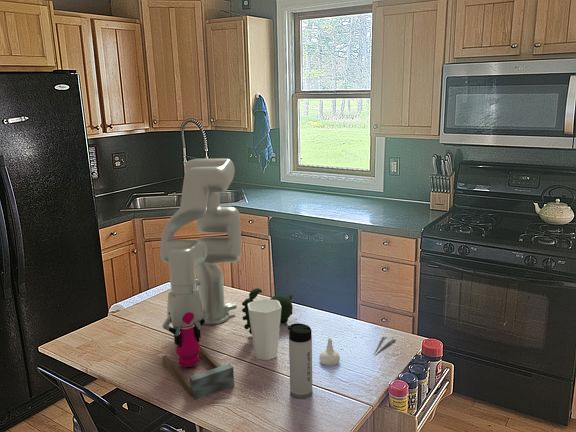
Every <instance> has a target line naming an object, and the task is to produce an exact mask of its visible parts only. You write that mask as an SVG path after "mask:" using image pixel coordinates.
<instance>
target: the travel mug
mask: <svg viewBox="0 0 576 432" xmlns="http://www.w3.org/2000/svg"><path fill="white" fill-rule="evenodd" d="M286 329H287V331H288V353H289V354H288V359H289V360H288V361H289V362H288V363H289V390H290V391H289V392H290V395H291V396H293V398H294V397H295V398H297V399H305V398H309V397H310V396H311V395H312V394H313V339H312V338H313V336H312V328H311V326H309V325H307V324H305V323H300V322H299V323H298V322H297V323H291V324H290V325H287V327H286Z"/></svg>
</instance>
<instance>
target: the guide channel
mask: <svg viewBox="0 0 576 432" xmlns="http://www.w3.org/2000/svg"><path fill="white" fill-rule="evenodd" d="M199 346H200V351H199V353H198V355H199V358H200V359H201V360H202V361H204V363H206V364H207V366H208V367H210V369H209V370H205V371H203V372H200V373H197V374H194V375H191V376H189V377H188V378H187V377H186V376H185V375H184V374H183V372H182V371H181V370H180V369H179V367H177V366H176V364H175V363H174V362H173V361H172V359H170V357H168V355H162V363H163V366H165V368H166V369H167V370H168V371H169V373H170V374H171V375H172V376H173V377H174V378H175V379H176V381H177V382H178V383H179V384H180V385H181V387H182V388H183V389H184V390H185V392H186V393H187V394H188V395H189V397H191V398H192V400H193V401H196V400H199V399H202V398H205V397H208V396H210V395H213V394H215V393H218V392H222V391H225V390H227V389H230V388H233V387H235V376H234V375H235V374H234V373H235V372H234V370H235V369H234V366H233V365H232V364H231V363H227V364H224V365H221V364H220V363H219V362H218V361H217V360H215V359H214V358H213V357H212V356H211V355H210V354H209V353H208V351H206V350H205V349H204V348H203V347H202V346H201V345H200V344H199Z"/></svg>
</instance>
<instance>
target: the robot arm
mask: <svg viewBox="0 0 576 432" xmlns="http://www.w3.org/2000/svg"><path fill="white" fill-rule="evenodd" d="M184 165H185V166H184V169H185V173H184V177H183V184H182V191H181V199H180V206H179V209H178V210H177V211H176V212H175V213H174V214H172V215H171V217H169V219H168V220H167V222H166V223H165V225H164V227H163V229H162V233H161V237H160V238H161V239H160V247H159V255H160V259H161V261H162V262H163V263H165V264H168V268H169V279H170V281H169V282H170V291H169V292H168V296H167V305H166V306H167V308H166V311H167V312H166V313H167V314H166V316H167V317H166V319H165V320H164V322H163V323H162V324H161V327H162V328H163V330H166V331H167V332H169V333H171V334H173V339H174V340H173V341H174V344H175V346H177V345H178V346H179V348H180V347H181V345H182V342H181V335H180V328H181V326H182V325H186V324H187V323H185V322H183V321H182V318H183V316H184V315H185V314H186V313H188V312H191V313H193V314H194V319H193V320H192V321H191V322H190V323H194V326H193V332H194V335H195V337H196V339H197V342H198V343H199V342H200V341H201V340H200V338H201V330H202V327H203V325H206V326H207V325H208V326H211V325H213V326H214V325H219V324H222V323H224V322H226V321H228V320H229V318H230V313H229V312H230V311H232V310H236V309H238V306H237V304H236V303H233V304H232V303H230V302H229V303H226V304H225V291H224V290H225V288H224V286H225V285H224V273H223V271H222V268H221V267H220V265H219V264H223V263H224V264H226V263H227V264H233V263H237V262H239V261H240V260H241V257H242V228H241V227H242V225H241V224H242V223H241V214H240V211H239V210H238V208H236V207H234V206H221V204H220V202H221V201H220V198H221V197H220V193H223V192H226V191H228V189H229V187H230V185H231V183H232V182H233V179H234V178H235V170H236V169H235V164H234V162H233V161H232V160H231V159H230V158H194V159H190V160H188V161H187V162H185V164H184ZM194 221H196V228H197V230H198V231H199V232H201V233H206V234H207V233H208V234H227V236H201V237H198V238H196V239H174V237H175V235H176V233H177V232H178V231H179V230H180V229H181V228H183V227H185V226H186V225H188V224H190V223H193V222H194ZM170 324H172V326H170Z"/></svg>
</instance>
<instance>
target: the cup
mask: <svg viewBox="0 0 576 432" xmlns="http://www.w3.org/2000/svg"><path fill="white" fill-rule="evenodd" d="M247 305H248V312H249V318H250V325H251V331H252V334H251V338H252V343H253V351H254V355H255V358H256V359H257V360H262V361H270V360H272V359H274V358H277V356H278V351H279V350H278V348H279V338H280V329H281V328H280V325H281V323H280V319H281V308H282V307H281V305H280V302H279V301H278V300H271V298H269V299H268V298H260V299H256V300H253V302H250V303H248V304H247Z"/></svg>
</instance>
